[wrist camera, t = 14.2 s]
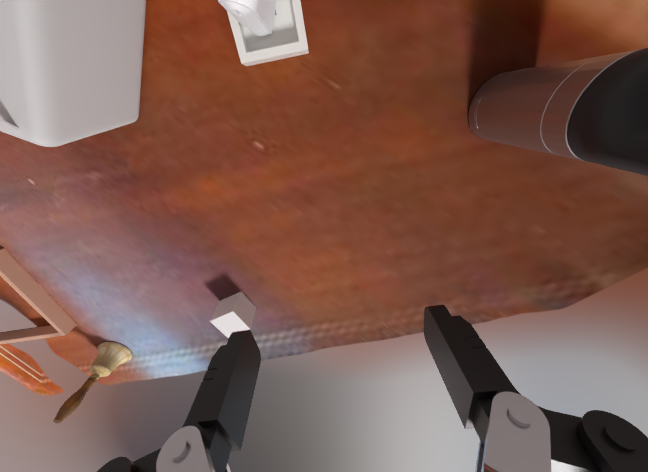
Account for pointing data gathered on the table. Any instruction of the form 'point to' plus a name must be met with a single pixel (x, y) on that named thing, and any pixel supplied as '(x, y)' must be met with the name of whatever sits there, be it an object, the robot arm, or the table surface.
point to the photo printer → (253, 14)
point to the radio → (69, 67)
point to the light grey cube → (234, 314)
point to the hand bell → (96, 374)
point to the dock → (273, 36)
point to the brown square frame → (32, 304)
